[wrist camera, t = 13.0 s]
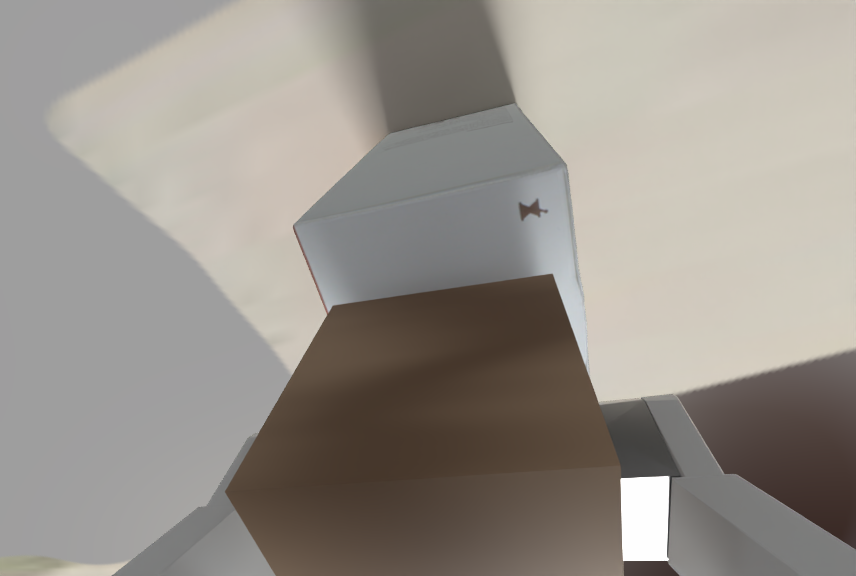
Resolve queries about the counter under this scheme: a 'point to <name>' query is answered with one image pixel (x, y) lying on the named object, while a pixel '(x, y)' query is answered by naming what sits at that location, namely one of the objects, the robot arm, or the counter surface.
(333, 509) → the walnut cube
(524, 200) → the small box
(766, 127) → the counter surface
